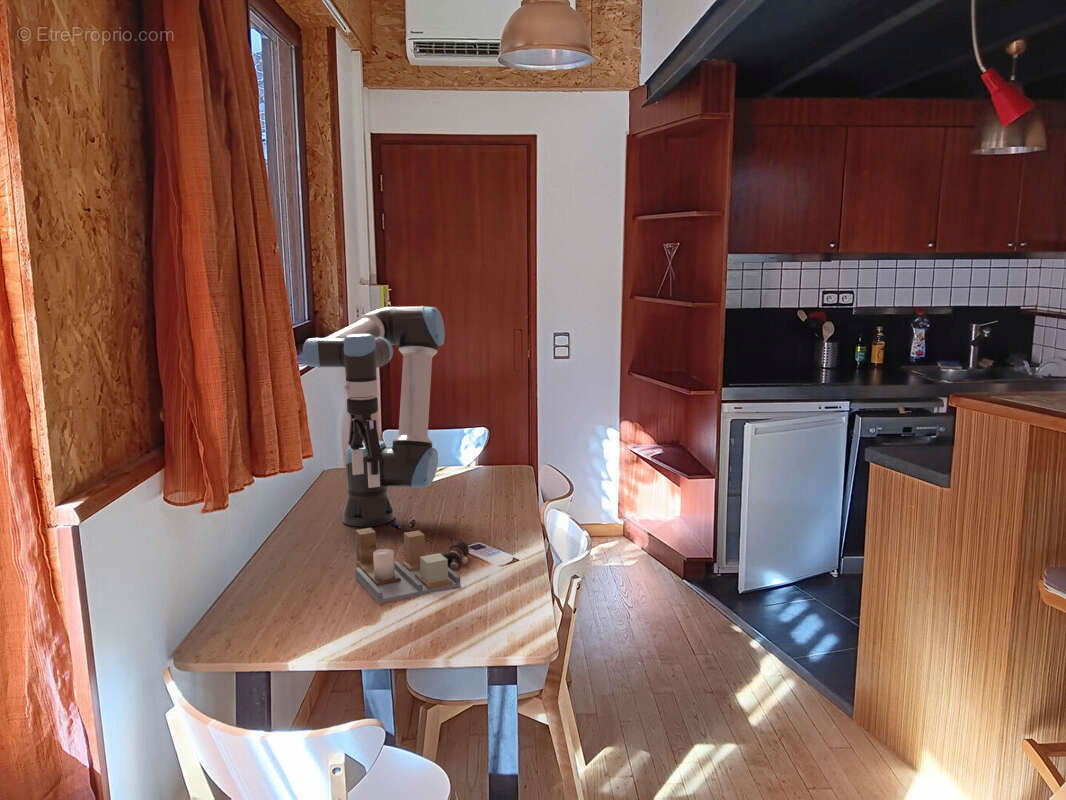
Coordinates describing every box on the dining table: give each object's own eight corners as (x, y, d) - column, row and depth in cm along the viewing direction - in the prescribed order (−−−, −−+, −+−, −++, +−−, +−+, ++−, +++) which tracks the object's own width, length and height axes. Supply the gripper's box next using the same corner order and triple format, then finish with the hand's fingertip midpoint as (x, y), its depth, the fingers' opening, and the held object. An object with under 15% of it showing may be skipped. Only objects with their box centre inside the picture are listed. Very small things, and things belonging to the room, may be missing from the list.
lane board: (354, 576, 205) (352, 541, 204) (431, 562, 215) (429, 528, 213) (378, 603, 189) (377, 565, 187) (460, 586, 198) (459, 550, 197)
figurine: (463, 576, 209) (478, 555, 218) (461, 558, 208) (476, 538, 216) (433, 572, 212) (449, 552, 221) (430, 555, 210) (447, 535, 219)
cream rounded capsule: (371, 574, 201) (370, 551, 200) (390, 571, 204) (389, 547, 203) (377, 581, 197) (376, 557, 196) (397, 577, 199) (396, 553, 198)
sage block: (420, 576, 200) (419, 556, 199) (440, 572, 202) (439, 553, 202) (428, 583, 196) (427, 563, 195) (448, 579, 198) (447, 559, 197)
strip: (353, 561, 213) (351, 530, 212) (375, 556, 216) (374, 527, 215) (376, 586, 197) (374, 553, 195) (400, 581, 199) (399, 549, 198)
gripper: (333, 391, 216) (338, 471, 219) (361, 406, 194) (366, 494, 198) (362, 388, 219) (366, 467, 223) (393, 403, 197) (396, 490, 201)
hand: (366, 480), depth 210 cm, fingers open, 13 cm apart
